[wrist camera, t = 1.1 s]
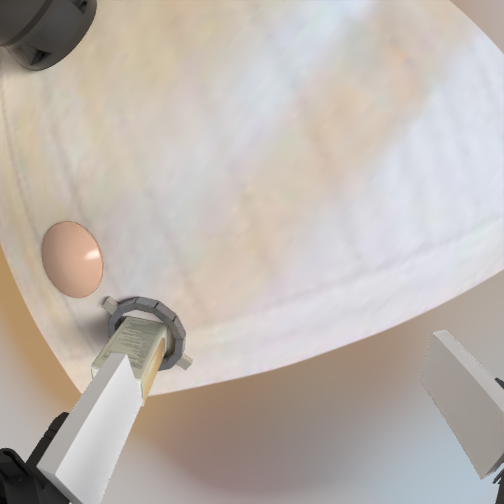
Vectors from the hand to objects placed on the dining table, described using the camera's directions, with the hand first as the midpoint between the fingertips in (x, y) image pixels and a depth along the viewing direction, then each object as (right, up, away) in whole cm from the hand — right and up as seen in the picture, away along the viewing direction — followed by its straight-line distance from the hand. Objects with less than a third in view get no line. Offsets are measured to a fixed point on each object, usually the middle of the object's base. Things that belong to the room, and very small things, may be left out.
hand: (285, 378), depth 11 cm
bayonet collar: (-16, -6, +27) cm, 32 cm away
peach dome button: (-27, +4, +24) cm, 36 cm away
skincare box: (-16, -6, +27) cm, 32 cm away
